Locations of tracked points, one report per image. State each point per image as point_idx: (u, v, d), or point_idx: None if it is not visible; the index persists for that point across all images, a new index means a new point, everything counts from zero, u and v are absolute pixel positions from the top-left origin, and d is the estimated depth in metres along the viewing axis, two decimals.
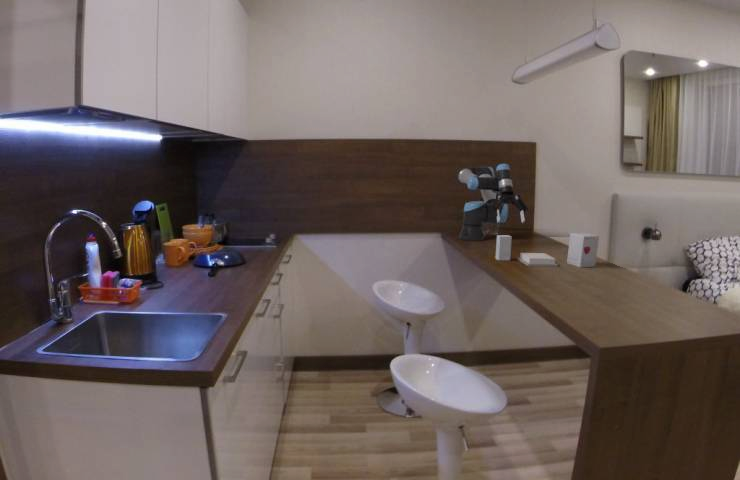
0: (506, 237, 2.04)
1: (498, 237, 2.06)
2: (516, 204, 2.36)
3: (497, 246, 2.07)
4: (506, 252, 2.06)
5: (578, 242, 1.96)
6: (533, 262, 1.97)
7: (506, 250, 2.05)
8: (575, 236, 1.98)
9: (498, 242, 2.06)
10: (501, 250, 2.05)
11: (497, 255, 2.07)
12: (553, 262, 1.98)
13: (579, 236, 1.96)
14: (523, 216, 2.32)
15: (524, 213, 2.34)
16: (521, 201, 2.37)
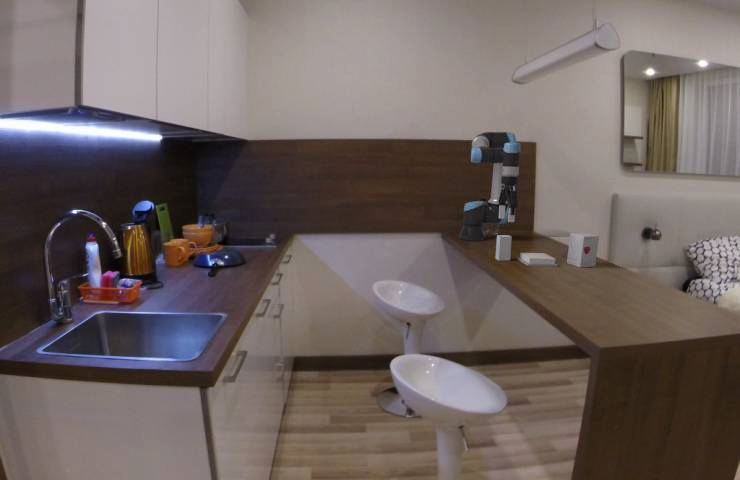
0: (506, 237, 2.04)
1: (498, 237, 2.06)
2: (509, 199, 1.99)
3: (497, 246, 2.07)
4: (506, 252, 2.06)
5: (578, 242, 1.96)
6: (533, 262, 1.97)
7: (506, 250, 2.05)
8: (575, 236, 1.98)
9: (498, 242, 2.06)
10: (501, 250, 2.05)
11: (497, 255, 2.07)
12: (553, 262, 1.98)
13: (579, 236, 1.96)
14: (508, 216, 1.98)
15: (511, 211, 1.96)
16: (511, 195, 1.96)
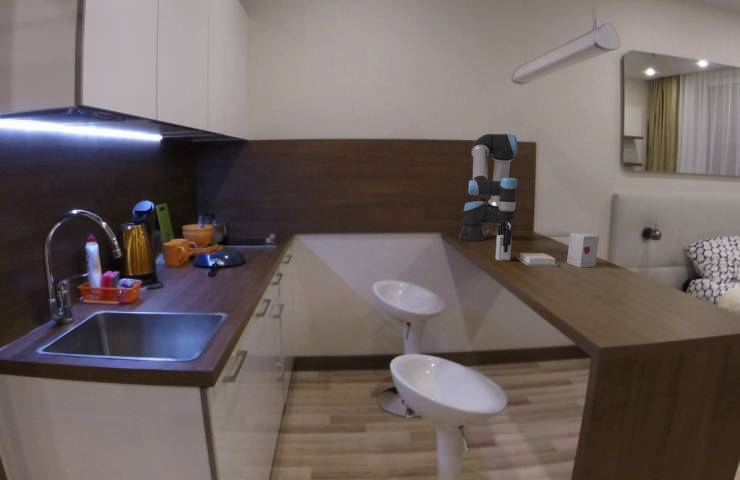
0: None
1: (498, 237, 2.06)
2: None
3: (497, 246, 2.07)
4: None
5: (578, 242, 1.96)
6: (533, 262, 1.97)
7: None
8: (575, 236, 1.98)
9: (498, 242, 2.06)
10: (501, 250, 2.05)
11: (497, 255, 2.07)
12: (553, 262, 1.98)
13: (579, 236, 1.96)
14: None
15: (504, 249, 2.03)
16: (505, 233, 2.01)
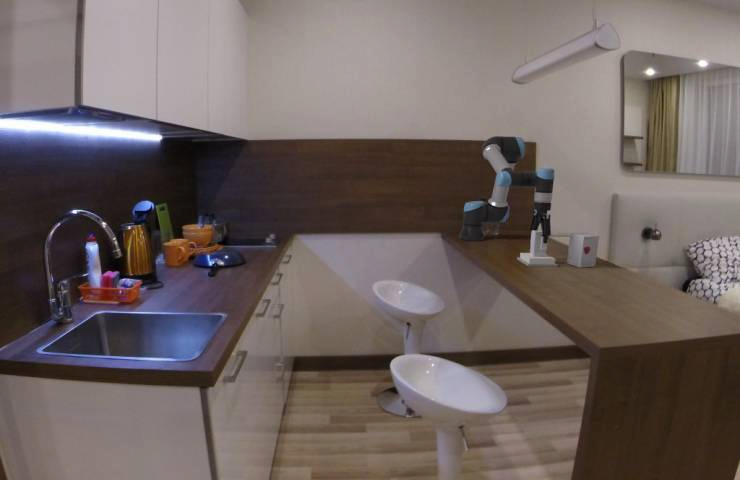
0: None
1: (533, 232, 2.00)
2: None
3: (532, 242, 2.01)
4: None
5: (578, 242, 1.96)
6: (533, 262, 1.97)
7: None
8: (575, 236, 1.98)
9: (533, 237, 2.00)
10: (537, 246, 2.00)
11: (532, 251, 2.02)
12: (553, 262, 1.98)
13: (579, 236, 1.96)
14: (541, 244, 1.96)
15: (544, 240, 1.94)
16: (544, 223, 1.93)
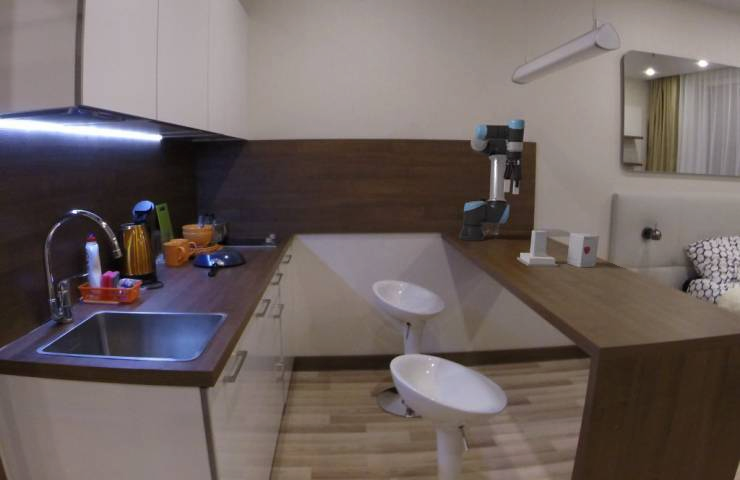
0: (542, 232, 1.99)
1: (533, 232, 2.00)
2: None
3: (532, 242, 2.01)
4: (541, 248, 2.00)
5: (578, 242, 1.96)
6: (533, 262, 1.97)
7: (542, 245, 2.00)
8: (575, 236, 1.98)
9: (533, 237, 2.01)
10: (537, 246, 2.00)
11: (532, 251, 2.02)
12: (553, 262, 1.98)
13: (579, 236, 1.96)
14: (513, 188, 2.11)
15: (516, 184, 2.09)
16: (515, 169, 2.09)
